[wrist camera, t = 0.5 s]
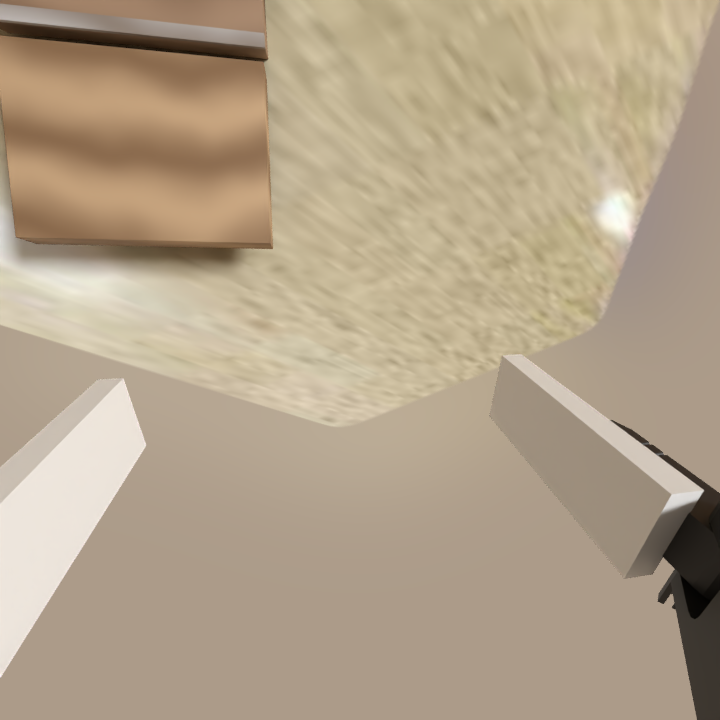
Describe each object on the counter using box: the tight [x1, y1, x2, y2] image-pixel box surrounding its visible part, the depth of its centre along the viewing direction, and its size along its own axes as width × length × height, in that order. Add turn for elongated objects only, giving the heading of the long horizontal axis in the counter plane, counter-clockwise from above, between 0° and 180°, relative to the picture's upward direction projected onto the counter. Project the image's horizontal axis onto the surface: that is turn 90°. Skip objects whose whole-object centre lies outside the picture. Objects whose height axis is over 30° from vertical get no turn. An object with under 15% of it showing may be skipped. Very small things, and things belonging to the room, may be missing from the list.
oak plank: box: [0, 36, 273, 249], centre depth 26 cm, size 13×18×2 cm
